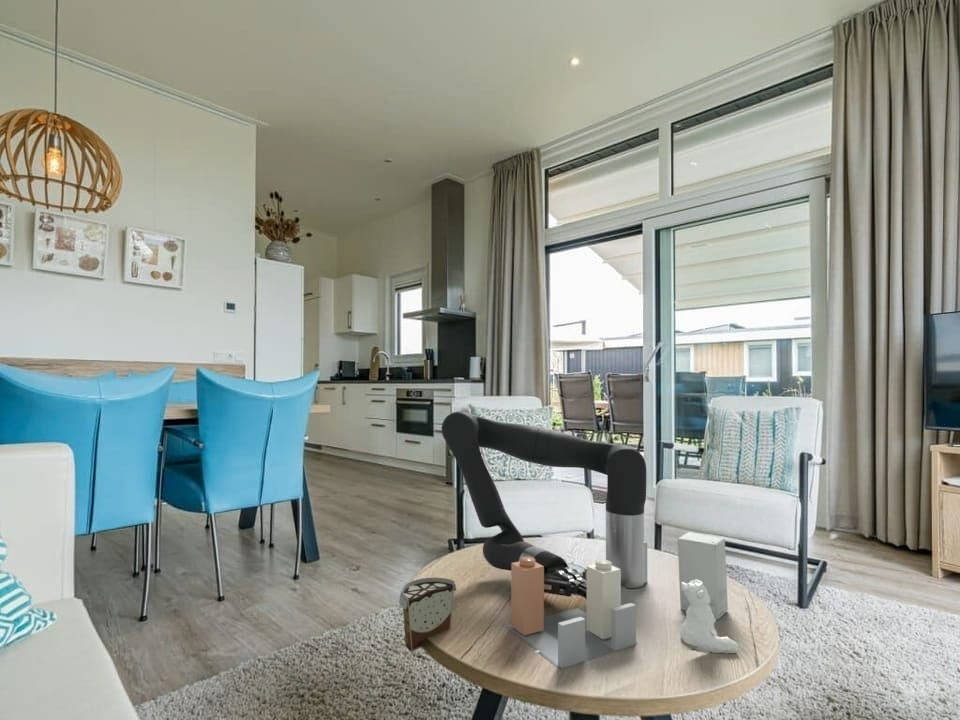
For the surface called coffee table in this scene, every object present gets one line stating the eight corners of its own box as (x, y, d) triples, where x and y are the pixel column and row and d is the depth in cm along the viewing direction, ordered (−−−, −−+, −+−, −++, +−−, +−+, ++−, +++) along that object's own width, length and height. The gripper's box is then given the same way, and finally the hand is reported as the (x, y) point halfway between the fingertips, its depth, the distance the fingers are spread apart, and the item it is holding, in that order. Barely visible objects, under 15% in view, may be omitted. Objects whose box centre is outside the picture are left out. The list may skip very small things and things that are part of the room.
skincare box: (728, 611, 112) (727, 538, 113) (717, 621, 107) (717, 545, 108) (689, 600, 118) (688, 530, 118) (677, 609, 113) (677, 536, 113)
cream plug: (604, 624, 102) (604, 556, 103) (620, 633, 98) (620, 563, 99) (586, 629, 100) (586, 560, 100) (602, 639, 96) (602, 567, 97)
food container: (435, 621, 106) (436, 571, 107) (456, 632, 102) (456, 580, 102) (385, 642, 98) (386, 588, 98) (404, 654, 93) (405, 597, 94)
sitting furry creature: (741, 654, 94) (740, 586, 95) (703, 662, 91) (703, 593, 92) (702, 630, 103) (701, 569, 104) (666, 637, 100) (666, 574, 101)
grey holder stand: (577, 613, 110) (577, 574, 110) (638, 650, 95) (638, 604, 96) (503, 633, 101) (503, 591, 101) (557, 677, 86) (557, 627, 87)
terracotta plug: (530, 620, 103) (530, 554, 104) (543, 630, 99) (543, 561, 100) (511, 625, 101) (511, 557, 102) (524, 635, 97) (524, 565, 98)
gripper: (517, 555, 113) (568, 582, 98) (565, 546, 120) (620, 570, 105) (517, 590, 113) (568, 622, 98) (566, 579, 119) (620, 608, 104)
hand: (595, 595), depth 101 cm, fingers closed
